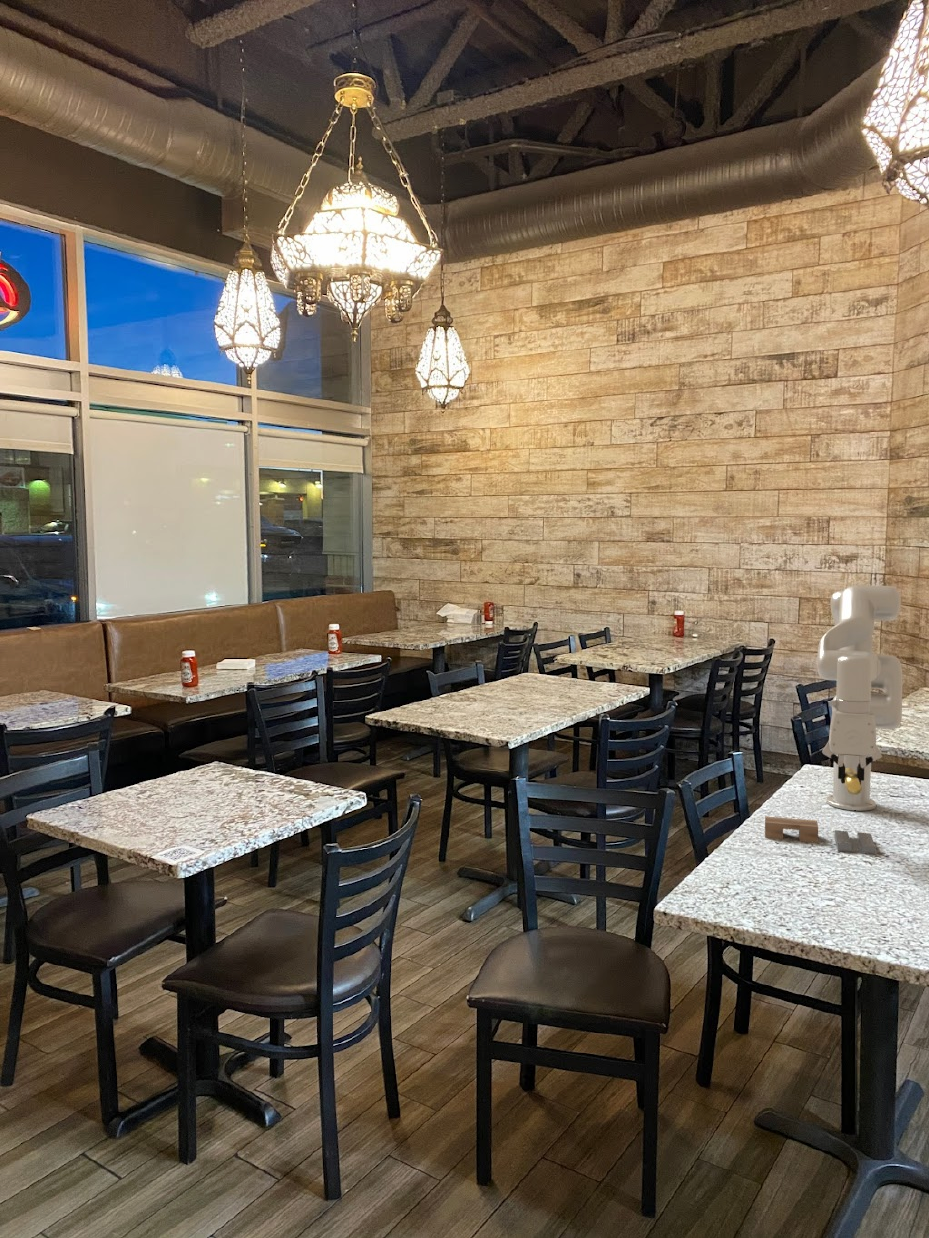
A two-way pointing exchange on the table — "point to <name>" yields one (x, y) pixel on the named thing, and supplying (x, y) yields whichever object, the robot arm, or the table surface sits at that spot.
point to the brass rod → (852, 781)
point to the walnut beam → (805, 827)
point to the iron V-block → (855, 843)
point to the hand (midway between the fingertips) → (850, 781)
